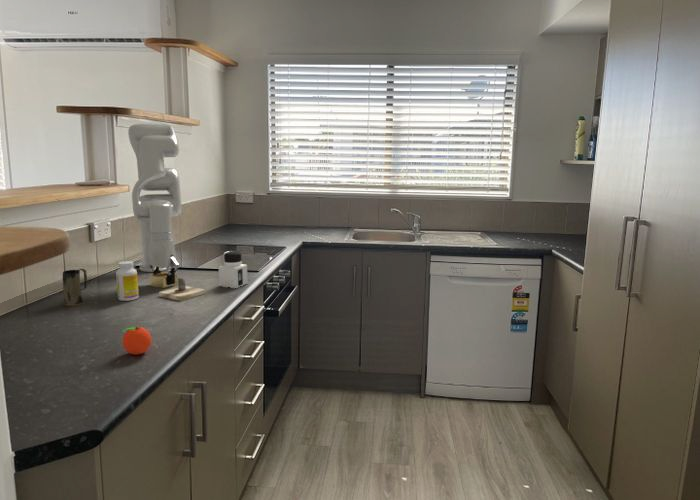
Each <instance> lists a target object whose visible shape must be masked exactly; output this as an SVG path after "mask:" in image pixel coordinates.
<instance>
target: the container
mask: <svg viewBox="0 0 700 500" xmlns="http://www.w3.org/2000/svg"><path fill="white" fill-rule="evenodd" d="M242 261H243V260H242V252H241V251H238V250H228V251H225V252H224V253H223V264H222V265H220V266H218V285H219V287H221V286H222V288H228V287H230V289H235V288H236V289H238V288H241V287H243V285H244V286H245V284H246V285H248V264H243V263H242ZM240 286H241V287H240Z"/></svg>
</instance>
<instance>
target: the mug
mask: <svg viewBox="0 0 700 500" xmlns="http://www.w3.org/2000/svg"><path fill="white" fill-rule="evenodd" d="M80 271H82V273H83V283H84V285H83V287H84V288H82V287H81V274H80V273H81V272H80ZM87 273H88V272H87V270H86V269H85V268H80V269H68V270H64V271H63V272H62V292H63V293H62V294H63V300H64V306H65V307H78V306H82V305H83V304H84V298H83V293H82V291H83V290H86V289H87V285H88V279H87V278H88V276H87Z"/></svg>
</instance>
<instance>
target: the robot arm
mask: <svg viewBox="0 0 700 500" xmlns="http://www.w3.org/2000/svg"><path fill="white" fill-rule="evenodd" d="M127 131H128V132H127V133H128V139H129V143H130V146H131V148H132V150H133V152H134V154H135V158H136V166H137V178H138V180H137V181H136V182H135V184H134V185H133V186H134V187H133V189H132V193H131V201H132V213H133V215H134V218H135V219H136V220H137V221H139V224H140V237H141V238H140V239H141V250H142V256H141V258H139V259H138V262H139V263H141V265H140V266H139V268H138V269H139V271H141V272H145V273H146V272H147V273H152V275H154V274H158V273H162V272H165V271H166V272H168V275H167V284H168V285H171V284H175V274H177V270H178V269H179V267H180V264H179V262H178V261H177V259H176V258H177V256H176V250H175V249H176V248H175V243H174V240H173V230H172V227H173V225H172V217H177V216H179V215H181V213H182V198H181V187H180V185H181V184H180V178H179V173H178V171H177V170H176V169H175V168H172V167H166V166H165V159H164V158H176V157H177V156H178V155H179V152H180V150H179V149H180V147H179V140H178V137H177V134H176V132H175V129H174V127H173V126H172V124H162V123H160V124H159V123H158V124H157V123H137V124H136V123H135V124H132V125H130V126H129V127H128V130H127ZM142 191H146V192H164V191H165V192H168V193H150V194H149V193H148V194H143V195H141V192H142Z"/></svg>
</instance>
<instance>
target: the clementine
mask: <svg viewBox="0 0 700 500" xmlns="http://www.w3.org/2000/svg"><path fill="white" fill-rule="evenodd" d="M125 331H126V332H125ZM122 332H125V333H124V334H123V337H122V340H121V341H122V347H123V349H124V351H126V352H127V353H129V354H131V355H141V354H143V353H145V352H147V350H149V348H150V347H151V345H152V336H151V335H152V334H150V332H149V330H148V329H146V328H144V327H141V326H135V327H128V328H125V329H124V330H122V331H121V332H120V334H119V336H118V337H120V336H121V334H122Z"/></svg>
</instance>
